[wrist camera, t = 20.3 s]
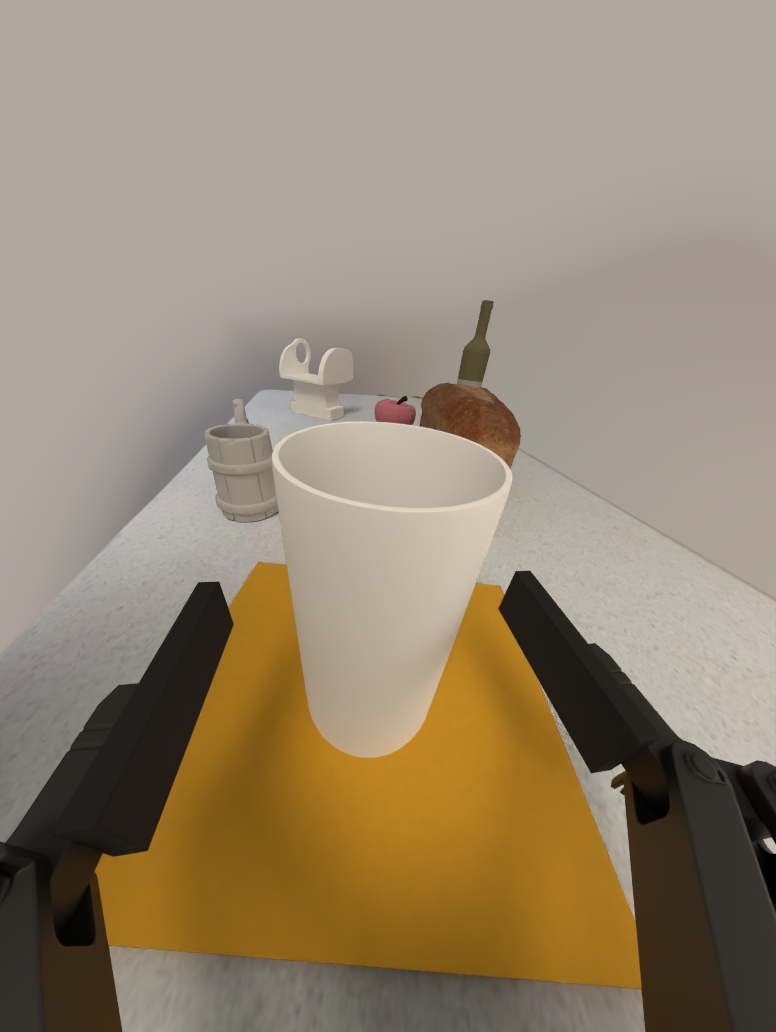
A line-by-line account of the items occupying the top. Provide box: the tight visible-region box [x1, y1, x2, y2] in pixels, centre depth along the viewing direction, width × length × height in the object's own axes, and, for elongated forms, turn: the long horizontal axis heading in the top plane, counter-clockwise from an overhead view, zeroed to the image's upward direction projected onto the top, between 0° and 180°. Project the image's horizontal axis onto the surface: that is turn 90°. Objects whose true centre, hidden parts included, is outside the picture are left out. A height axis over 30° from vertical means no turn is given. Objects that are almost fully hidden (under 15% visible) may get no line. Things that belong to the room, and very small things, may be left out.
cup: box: [272, 422, 512, 758], centre depth 14 cm, size 8×8×16 cm
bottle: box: [457, 300, 494, 387], centre depth 76 cm, size 7×7×30 cm
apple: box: [375, 396, 416, 425], centre depth 62 cm, size 10×9×10 cm
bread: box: [420, 383, 521, 468], centre depth 50 cm, size 12×28×14 cm, turn 4°
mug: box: [205, 399, 279, 522], centre depth 34 cm, size 8×12×12 cm, turn 21°
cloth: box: [95, 562, 642, 989], centre depth 19 cm, size 24×20×1 cm
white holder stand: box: [279, 338, 353, 421], centre depth 74 cm, size 14×13×18 cm
